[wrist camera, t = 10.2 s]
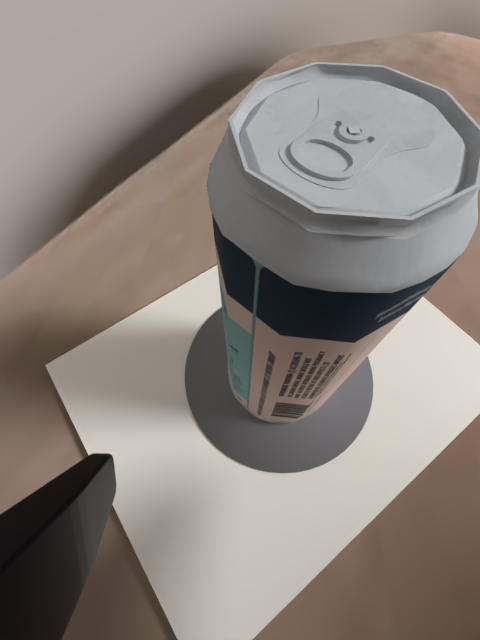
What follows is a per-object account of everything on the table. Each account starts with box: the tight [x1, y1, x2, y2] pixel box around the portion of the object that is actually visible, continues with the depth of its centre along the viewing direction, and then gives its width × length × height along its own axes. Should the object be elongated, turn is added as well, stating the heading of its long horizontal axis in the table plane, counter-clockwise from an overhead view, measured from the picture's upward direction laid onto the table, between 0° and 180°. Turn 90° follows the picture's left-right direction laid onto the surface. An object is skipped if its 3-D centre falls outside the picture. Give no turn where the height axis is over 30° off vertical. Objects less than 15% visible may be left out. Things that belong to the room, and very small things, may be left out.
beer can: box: [207, 62, 480, 424], centre depth 10 cm, size 5×5×12 cm
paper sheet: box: [45, 265, 480, 640], centre depth 16 cm, size 18×14×1 cm
